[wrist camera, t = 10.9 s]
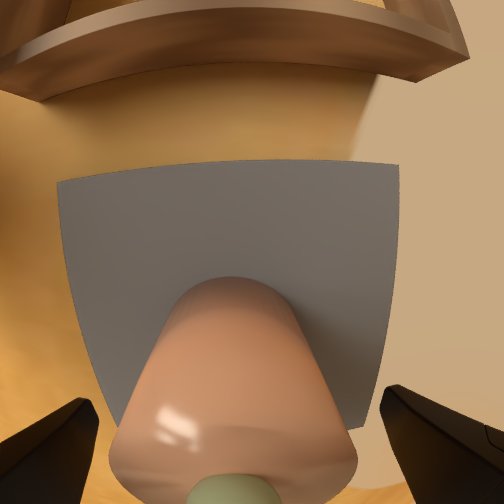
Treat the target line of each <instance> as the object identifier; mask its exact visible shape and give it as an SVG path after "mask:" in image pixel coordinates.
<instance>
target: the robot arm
mask: <svg viewBox="0 0 504 504" xmlns="http://www.w3.org/2000/svg"><path fill="white" fill-rule="evenodd" d="M380 414H381V417H382V419H383V422H384V426H385V429H386V432H387V435H388V438H389V441H390V444H391V447H392V450H393V452H394V455H395V457H396V459H397V461H398V463H399V466H400V468H401V470H402V472H403V475H404V476H405V479H406V481H407V484H408V486H409V488H410V491H411V493H412V495H413V498H414V500H415V502H416V504H504V432H503V431H501V430H498V429H495V428H493V427H490V426H488V425H484V424H483V423H481V422H478V421H476V420H474V419H472V418H469V417H467V416H465V415H462V414H460V413H458V412H456V411H453V410H451V409H449V408H447V407H445V406H442V405H440V404H438V403H436V402H434V401H432V400H430V399H428V398H425V397H423V396H421V395H419V394H417V393H415V392H413V391H411V390H409V389H407V388H405V387H403V386H401V385H398V384H397V385H392V386H388V387H386V388H385V390H384V393H383V396H382V400H381V403H380ZM98 426H99V418H98V415H97V413H96V411H95V409H94V407H93V404H92V402H91V401H90V400H89V399H86V398H80V397H78V398H76V399H74V400H73V401H71V402H69V403H68V404H66V405H64V406H63V407H61V408H59V409H58V410H56V411H54V412H53V413H51V414H49V415H47V416H46V417H44V418H42V419H41V420H39V421H37V422H36V423H34V424H32V425H30V426H29V427H27V428H25V429H23V430H22V431H20V432H18V433H16V434H15V435H13V436H11V437H9V438H8V439H6V440H4V441H2V442H1V443H0V504H80V502H81V498H82V494H83V490H84V487H85V483H86V479H87V476H88V472H89V469H90V465H91V462H92V457H93V452H94V447H95V441H96V436H97V431H98Z"/></svg>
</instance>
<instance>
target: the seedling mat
mask: <svg viewBox="0 0 504 504" xmlns="http://www.w3.org/2000/svg"><path fill="white" fill-rule="evenodd" d="M57 191H58V206H59V217H60V227H61V235H62V243H63V250H64V256H65V262H66V268H67V273H68V278H69V283H70V288H71V293H72V297H73V302H74V306H75V310H76V314H77V318H78V321H79V325H80V329H81V332H82V336H83V339H84V342H85V345H86V349H87V352H88V355H89V358H90V361H91V364H92V367H93V369H94V372H95V375H96V378H97V380H98V383H99V385H100V388H101V391H102V393H103V395H104V398H105V400H106V403H107V405H108V407H109V410H110V412H111V414H112V416H113V419H114V421H115V423H116V425H117V427H119V425H120V422H121V420H122V418H123V415H124V413H125V410H126V408H127V406H128V403H129V401H130V399H131V396H132V394H133V392H134V389H135V387H136V385H137V383H138V380H139V378H140V376H141V374H142V371H143V369H144V367H145V365H146V362H147V360H148V358H149V356H150V354H151V351H152V349H153V347H154V345H155V343H156V341H157V339H158V336H159V334H160V332H161V330H162V328H163V326H164V324H165V322H166V320H167V318H168V315H169V313H170V311H171V310H172V308H173V306H174V304H175V303H176V302H177V300H178V299H179V298H180V297H181V296H182V295H183V294H184V293H185V292H186V291H188V290H189V289H190V288H192V287H194V286H195V285H197V284H199V283H201V282H204V281H207V280H210V279H214V278H218V277H227V276H230V277H244V278H249V279H253V280H256V281H259V282H261V283H264V284H266V285H267V286H269V287H271V288H273V289H274V290H275V291H277V292H278V293H279V294H280V295H281V296H282V297H283V298H284V299H285V300H286V301H287V302H288V304H289V305H290V306H291V308H292V310H293V312H294V314H295V316H296V318H297V320H298V323H299V325H300V327H301V329H302V331H303V334H304V336H305V338H306V340H307V342H308V344H309V347H310V349H311V351H312V353H313V355H314V358H315V360H316V362H317V364H318V366H319V369H320V371H321V373H322V375H323V377H324V380H325V382H326V384H327V386H328V389H329V391H330V393H331V395H332V397H333V400H334V402H335V404H336V406H337V409H338V411H339V413H340V415H341V418H342V420H343V422H344V424H345V427H346V429H347V430H350V429H355V428H359V427H363V426H364V423H365V420H366V417H367V413H368V410H369V406H370V403H371V399H372V396H373V392H374V388H375V385H376V381H377V376H378V372H379V368H380V364H381V359H382V354H383V349H384V345H385V339H386V334H387V328H388V322H389V316H390V310H391V303H392V296H393V288H394V278H395V269H396V259H397V246H398V245H397V244H398V228H399V165H394V164H383V163H368V162H354V161H332V160H243V161H221V162H205V163H191V164H179V165H169V166H159V167H150V168H142V169H134V170H126V171H119V172H112V173H106V174H99V175H93V176H88V177H82V178H77V179H71V180H66V181H61V182H57Z"/></svg>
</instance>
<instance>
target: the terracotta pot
mask: <svg viewBox="0 0 504 504" xmlns="http://www.w3.org/2000/svg"><path fill="white" fill-rule="evenodd" d="M109 464H110V467H111V470H112V472H113V474H114V475H115V477H116V479H117V480H118V481H119V482H120V484H121V485H122V486H123V487H124V488H125V489H126V490H127V491H128V492H130V493H131V494H132V495H133V496H135V497H136V498H137V499H139V500H141V501H142V502H144V503H145V504H324V503H326V502H327V501H329V500H331V499H332V498H333V497H335V496H336V495H337V494H339V493H340V492H341V491H342V490H343V489H344V488H345V487H346V486H347V484H348V483H349V482H350V481H351V479H352V477H353V476H354V474H355V471H356V468H357V464H358V457H357V453H356V449H355V447H354V445H353V443H352V440H351V438H350V436H349V433H348V431H347V429H346V427H345V424H344V422H343V420H342V418H341V415H340V413H339V411H338V409H337V406H336V404H335V402H334V400H333V397H332V395H331V393H330V391H329V389H328V386H327V384H326V382H325V380H324V377H323V375H322V373H321V371H320V369H319V366H318V364H317V362H316V360H315V358H314V355H313V353H312V351H311V349H310V347H309V344H308V342H307V340H306V338H305V336H304V334H303V331H302V329H301V327H300V325H299V323H298V320H297V318H296V316H295V314H294V312H293V310H292V308H291V306H290V305H289V304H288V302H287V301H286V300H285V299H284V298H283V297H282V296H281V295H280V294H279V293H278V292H277V291H275V290H274V289H273V288H271V287H269V286H267V285H266V284H264V283H261V282H259V281H256V280H253V279H249V278H244V277H230V276H227V277H218V278H214V279H210V280H207V281H204V282H201V283H199V284H197V285H195V286H194V287H192V288H190V289H189V290H188V291H186V292H185V293H184V294H183V295H182V296H181V297H180V298H179V299H178V300H177V302H176V303H175V304H174V306H173V308H172V310H171V311H170V313H169V315H168V318H167V320H166V322H165V324H164V326H163V328H162V330H161V332H160V334H159V336H158V339H157V341H156V343H155V345H154V347H153V349H152V351H151V354H150V356H149V358H148V360H147V362H146V365H145V367H144V369H143V371H142V374H141V376H140V378H139V380H138V383H137V385H136V387H135V389H134V392H133V394H132V396H131V399H130V401H129V403H128V406H127V408H126V410H125V413H124V415H123V418H122V420H121V422H120V425H119V427H118V430H117V432H116V435H115V437H114V440H113V442H112V445H111V447H110V451H109Z"/></svg>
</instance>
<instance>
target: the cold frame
mask: <svg viewBox="0 0 504 504" xmlns="http://www.w3.org/2000/svg"><path fill="white" fill-rule="evenodd" d="M383 1H384V4H385V8H386V9H384V8H380V7H377V6H373V5H369V4H365V3H361V2H357V1H353V0H142V1H138V2H134V3H130V4H126V5H122V6H118V7H115V8H111V9H108V10H105V11H102V12H99V13H96V14H93V15H90V16H87V17H84V18H81V19H79V20H76V21H74V22H71V23H69V24H66V25H64V23H65V19H66V16H67V13H68V9H69V6H70V3H71V0H0V90H3V91H6V92H9V93H12V94H15V95H18V96H21V97H24V98H27V99H30V100H33V101H36V102H40V101H42V100H45V99H48V98H50V97H53V96H56V95H59V94H61V93H64V92H67V91H70V90H73V89H77V88H80V87H83V86H87V85H90V84H94V83H97V82H101V81H105V80H109V79H113V78H117V77H121V76H126V75H131V74H135V73H141V72H146V71H152V70H158V69H164V68H171V67H179V66H187V65H197V64H208V63H224V62H287V63H303V64H315V65H324V66H333V67H341V68H347V69H354V70H360V71H365V72H371V73H376V74H381V75H385V76H390V77H394V78H399V79H403V80H407V81H410V82H414V83H417V82H419V81H421V80H423V79H425V78H427V77H429V76H432V75H434V74H436V73H438V72H440V71H442V70H445V69H447V68H449V67H451V66H454V65H456V64H458V63H461V62H463V61H465V60H468V59H470V56H469V53H468V49H467V46H466V43H465V40H464V37H463V34H462V31H461V28H460V25H459V22H458V20H457V17H456V15H455V12H454V9H453V7H452V5H451V2H450V0H383Z"/></svg>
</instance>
